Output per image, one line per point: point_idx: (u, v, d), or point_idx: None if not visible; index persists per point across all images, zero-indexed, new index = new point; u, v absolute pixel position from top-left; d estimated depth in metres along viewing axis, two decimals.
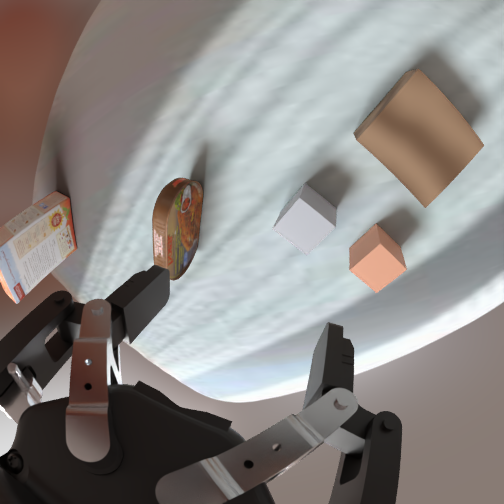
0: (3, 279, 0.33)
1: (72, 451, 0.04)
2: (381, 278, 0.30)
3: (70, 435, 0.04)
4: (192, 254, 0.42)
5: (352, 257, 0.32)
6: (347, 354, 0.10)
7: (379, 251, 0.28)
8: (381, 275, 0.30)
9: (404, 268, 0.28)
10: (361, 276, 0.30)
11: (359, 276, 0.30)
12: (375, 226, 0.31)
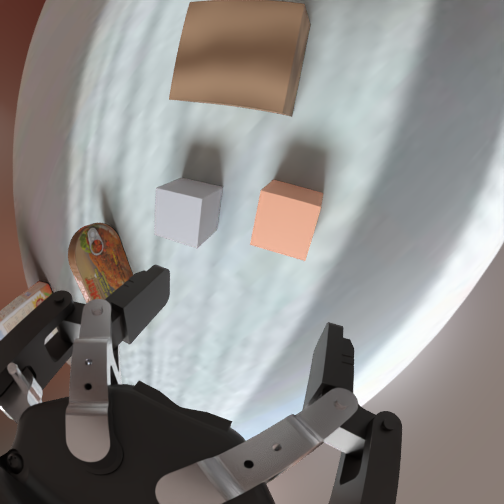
0: None
1: (72, 451, 0.04)
2: (295, 236, 0.23)
3: (70, 435, 0.04)
4: None
5: None
6: (347, 354, 0.10)
7: (266, 201, 0.22)
8: (293, 233, 0.23)
9: (317, 207, 0.21)
10: (269, 246, 0.24)
11: (267, 247, 0.24)
12: None
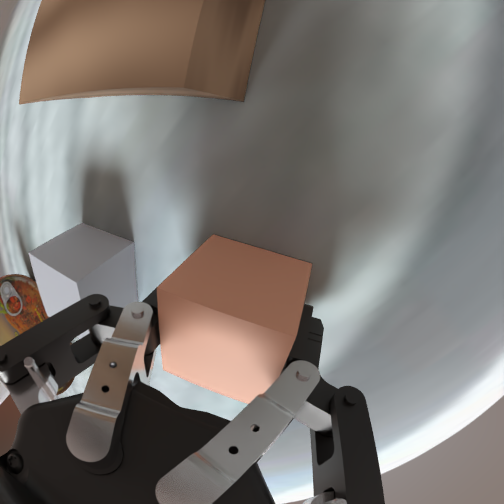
0: None
1: (72, 451, 0.04)
2: (241, 377, 0.10)
3: (70, 435, 0.04)
4: None
5: None
6: (316, 332, 0.11)
7: (172, 310, 0.09)
8: (235, 372, 0.10)
9: (286, 336, 0.08)
10: (196, 380, 0.11)
11: (192, 380, 0.11)
12: None
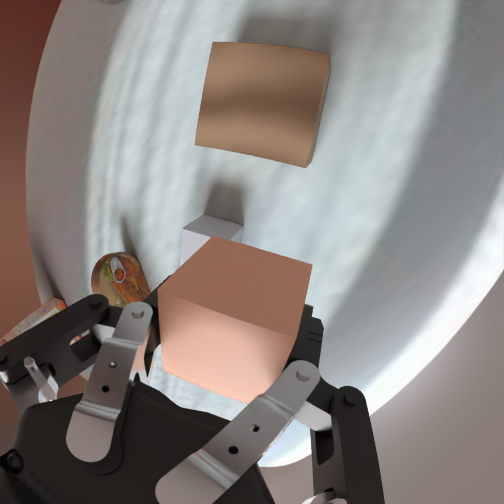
0: None
1: (72, 451, 0.04)
2: (242, 378, 0.10)
3: (70, 435, 0.04)
4: None
5: None
6: (316, 332, 0.11)
7: (172, 311, 0.09)
8: (236, 372, 0.10)
9: (286, 337, 0.08)
10: (196, 380, 0.11)
11: (192, 381, 0.11)
12: None
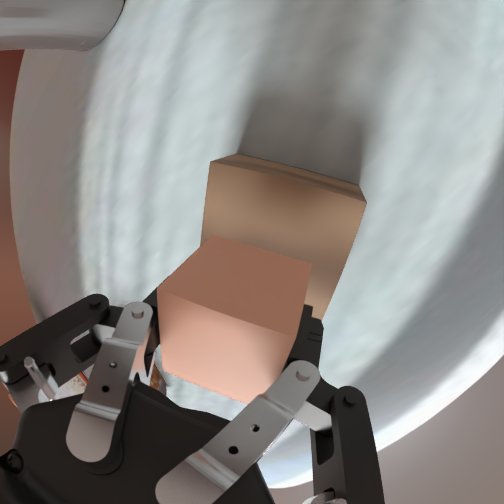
0: None
1: (72, 451, 0.04)
2: (241, 377, 0.10)
3: (70, 435, 0.04)
4: (164, 392, 0.39)
5: None
6: (316, 332, 0.11)
7: (172, 311, 0.09)
8: (235, 372, 0.10)
9: (286, 336, 0.08)
10: (196, 380, 0.11)
11: (192, 381, 0.11)
12: None
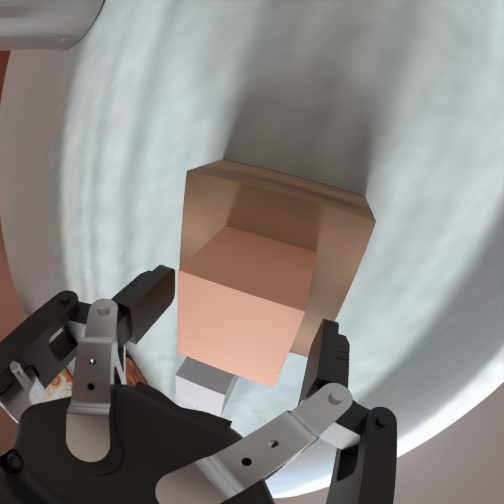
0: None
1: (72, 451, 0.04)
2: (254, 354, 0.11)
3: (70, 435, 0.04)
4: None
5: None
6: (342, 350, 0.10)
7: (192, 291, 0.11)
8: (248, 349, 0.11)
9: (296, 311, 0.10)
10: (209, 360, 0.12)
11: (206, 361, 0.12)
12: None
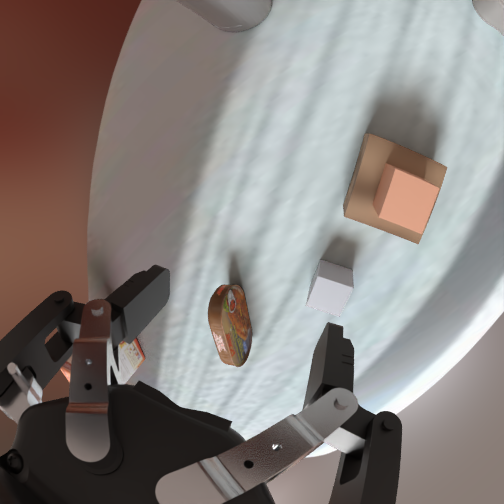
0: None
1: (72, 451, 0.04)
2: (417, 212, 0.22)
3: (70, 435, 0.04)
4: (249, 341, 0.47)
5: (377, 207, 0.25)
6: (347, 354, 0.10)
7: (399, 178, 0.22)
8: (416, 209, 0.22)
9: (436, 188, 0.21)
10: (395, 219, 0.23)
11: (393, 220, 0.23)
12: (386, 165, 0.25)
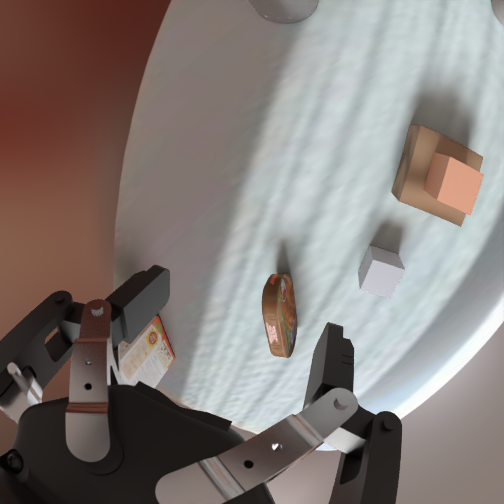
0: None
1: (72, 451, 0.04)
2: (467, 195, 0.22)
3: (70, 435, 0.04)
4: (295, 332, 0.47)
5: (431, 191, 0.25)
6: (347, 354, 0.10)
7: (452, 165, 0.21)
8: (466, 192, 0.22)
9: (481, 174, 0.20)
10: (450, 202, 0.23)
11: (448, 203, 0.23)
12: (435, 154, 0.25)
